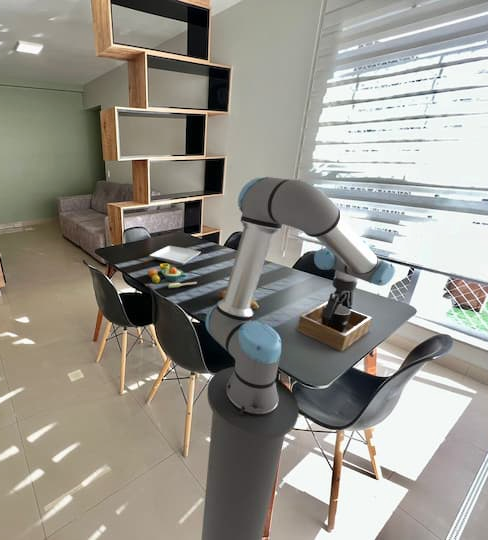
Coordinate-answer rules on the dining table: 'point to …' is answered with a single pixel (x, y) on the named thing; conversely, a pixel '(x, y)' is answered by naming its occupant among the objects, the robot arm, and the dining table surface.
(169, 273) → the toy juicer set
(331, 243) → the robot arm
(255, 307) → the croissant
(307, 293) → the dining table surface
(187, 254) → the square plate
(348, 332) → the crate
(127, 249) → the dining table surface
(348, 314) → the mug
